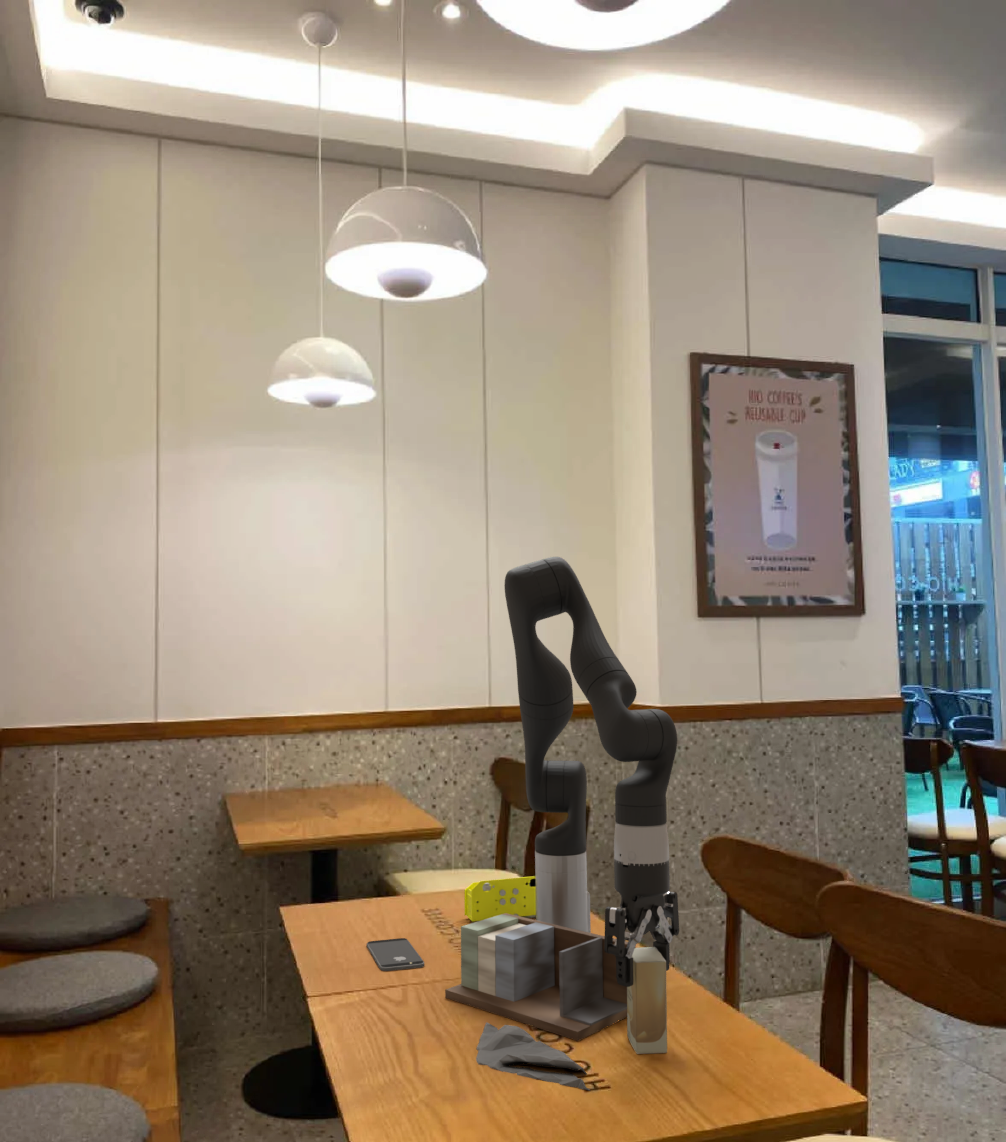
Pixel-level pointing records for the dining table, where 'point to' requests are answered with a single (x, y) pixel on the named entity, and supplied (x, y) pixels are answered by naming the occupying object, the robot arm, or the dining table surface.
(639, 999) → the skincare box
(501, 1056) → the cloth
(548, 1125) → the dining table surface
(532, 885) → the yellow toy chassis
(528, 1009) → the book shelf
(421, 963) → the phone
